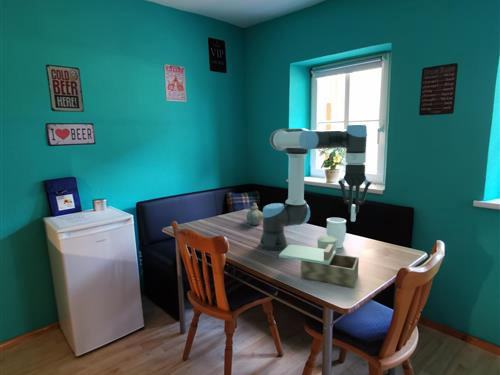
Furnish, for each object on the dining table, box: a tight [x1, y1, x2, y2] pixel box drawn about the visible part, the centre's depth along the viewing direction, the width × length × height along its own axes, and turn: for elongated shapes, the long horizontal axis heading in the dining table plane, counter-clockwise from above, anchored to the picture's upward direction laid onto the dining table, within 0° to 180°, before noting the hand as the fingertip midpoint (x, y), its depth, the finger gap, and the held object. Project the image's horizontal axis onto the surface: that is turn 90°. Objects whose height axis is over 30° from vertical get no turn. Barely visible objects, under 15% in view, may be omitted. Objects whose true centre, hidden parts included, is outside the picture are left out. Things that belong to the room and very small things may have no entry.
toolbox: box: [300, 253, 360, 289], centre depth 138 cm, size 22×14×8 cm, turn 64°
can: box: [317, 235, 337, 252], centre depth 154 cm, size 9×9×12 cm
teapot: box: [246, 202, 263, 226], centre depth 219 cm, size 21×12×15 cm, turn 179°
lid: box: [278, 243, 337, 265], centre depth 141 cm, size 22×14×5 cm, turn 64°
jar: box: [326, 217, 347, 249], centre depth 174 cm, size 11×10×15 cm
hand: (353, 220), depth 130 cm, fingers closed
